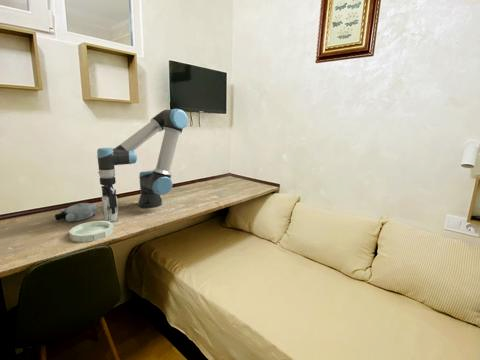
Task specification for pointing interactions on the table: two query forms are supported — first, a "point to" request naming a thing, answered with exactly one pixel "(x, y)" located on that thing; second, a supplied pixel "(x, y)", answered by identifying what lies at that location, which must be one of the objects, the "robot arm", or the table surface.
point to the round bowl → (91, 231)
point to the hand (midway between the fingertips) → (111, 217)
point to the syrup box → (106, 209)
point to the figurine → (77, 212)
